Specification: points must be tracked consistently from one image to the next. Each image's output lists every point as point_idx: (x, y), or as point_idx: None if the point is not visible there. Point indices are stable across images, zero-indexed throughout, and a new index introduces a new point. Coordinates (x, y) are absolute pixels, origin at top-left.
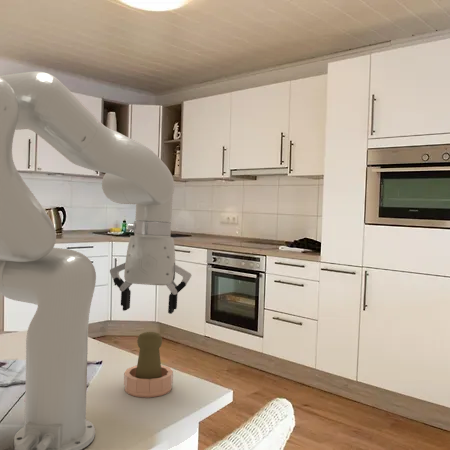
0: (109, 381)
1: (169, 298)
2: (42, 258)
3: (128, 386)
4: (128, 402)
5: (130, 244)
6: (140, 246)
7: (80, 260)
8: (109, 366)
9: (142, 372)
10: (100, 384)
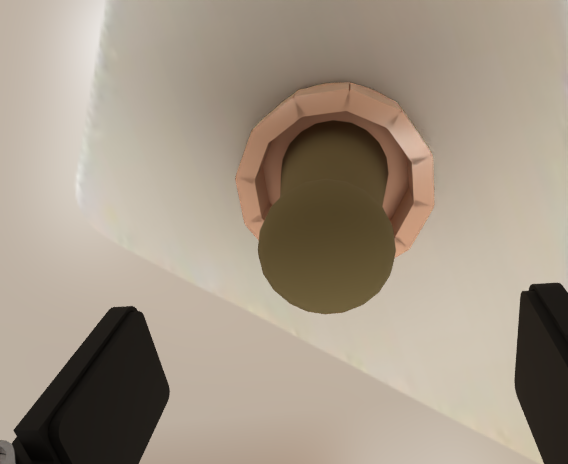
0: (502, 194)
1: (69, 400)
2: None
3: (391, 101)
4: (361, 21)
5: None
6: None
7: None
8: None
9: (342, 143)
10: (530, 157)
